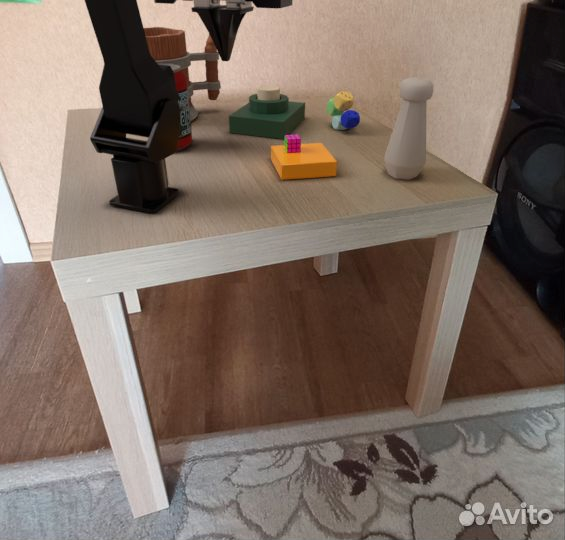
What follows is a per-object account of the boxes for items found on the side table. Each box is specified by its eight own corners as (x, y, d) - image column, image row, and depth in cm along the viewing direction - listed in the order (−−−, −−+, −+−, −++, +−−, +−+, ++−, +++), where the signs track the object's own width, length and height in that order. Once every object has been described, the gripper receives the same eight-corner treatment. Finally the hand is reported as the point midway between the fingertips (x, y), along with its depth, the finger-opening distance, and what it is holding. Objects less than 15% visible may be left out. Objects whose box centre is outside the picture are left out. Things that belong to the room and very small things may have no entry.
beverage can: (180, 155, 73) (170, 73, 66) (142, 149, 75) (129, 69, 68) (200, 141, 78) (193, 64, 72) (164, 137, 80) (154, 61, 73)
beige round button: (275, 103, 82) (275, 91, 80) (254, 101, 83) (253, 89, 81) (282, 98, 85) (283, 86, 84) (262, 96, 86) (262, 84, 85)
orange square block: (321, 156, 73) (322, 129, 71) (336, 176, 67) (338, 147, 64) (270, 159, 72) (270, 132, 69) (281, 180, 65) (281, 150, 63)
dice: (359, 134, 83) (363, 96, 79) (346, 135, 82) (350, 97, 78) (336, 121, 89) (339, 86, 85) (324, 123, 88) (326, 87, 84)
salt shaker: (423, 183, 65) (442, 85, 58) (381, 180, 66) (395, 82, 59) (421, 168, 70) (439, 75, 62) (382, 165, 71) (395, 73, 63)
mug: (117, 112, 92) (101, 26, 84) (210, 102, 99) (205, 22, 91) (130, 132, 82) (114, 37, 73) (234, 120, 89) (230, 32, 80)
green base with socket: (283, 139, 80) (283, 109, 77) (229, 132, 82) (228, 103, 80) (304, 118, 90) (305, 91, 87) (256, 113, 93) (255, 87, 90)
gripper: (305, -67, 64) (301, 56, 73) (184, -67, 69) (194, 48, 78) (279, -71, 56) (278, 69, 64) (143, -71, 61) (159, 60, 69)
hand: (225, 60), depth 69 cm, fingers closed
